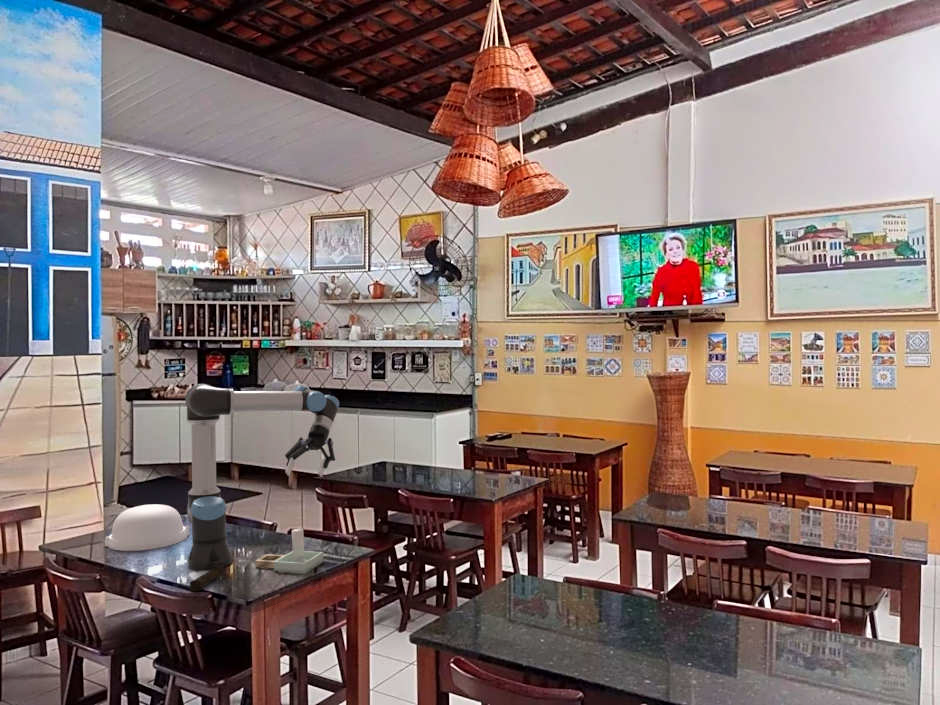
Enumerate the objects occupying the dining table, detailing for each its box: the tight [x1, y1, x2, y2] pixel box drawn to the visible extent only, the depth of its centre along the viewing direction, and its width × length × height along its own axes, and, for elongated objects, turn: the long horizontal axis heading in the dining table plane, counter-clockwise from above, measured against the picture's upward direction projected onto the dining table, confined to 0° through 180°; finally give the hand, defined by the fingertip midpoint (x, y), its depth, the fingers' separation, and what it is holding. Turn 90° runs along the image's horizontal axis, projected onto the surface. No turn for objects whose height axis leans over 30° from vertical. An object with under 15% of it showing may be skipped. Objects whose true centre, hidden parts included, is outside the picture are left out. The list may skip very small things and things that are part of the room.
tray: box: [273, 550, 324, 575], centre depth 265 cm, size 12×14×4 cm
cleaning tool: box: [291, 528, 305, 563], centre depth 265 cm, size 4×4×12 cm
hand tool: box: [189, 562, 224, 592], centre depth 250 cm, size 19×4×5 cm, turn 170°
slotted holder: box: [254, 553, 286, 569], centre depth 268 cm, size 8×8×2 cm
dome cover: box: [104, 503, 190, 552], centre depth 306 cm, size 32×30×14 cm
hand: (303, 474), depth 282 cm, fingers open, 13 cm apart
